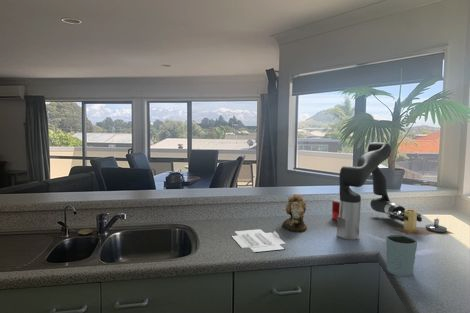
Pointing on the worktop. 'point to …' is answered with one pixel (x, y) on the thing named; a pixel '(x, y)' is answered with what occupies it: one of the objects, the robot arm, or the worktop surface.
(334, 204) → the canned food
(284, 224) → the brown bust statue
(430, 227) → the disc
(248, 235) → the white paper stack
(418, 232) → the walnut board
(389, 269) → the pale green pot
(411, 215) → the brass sleeve
